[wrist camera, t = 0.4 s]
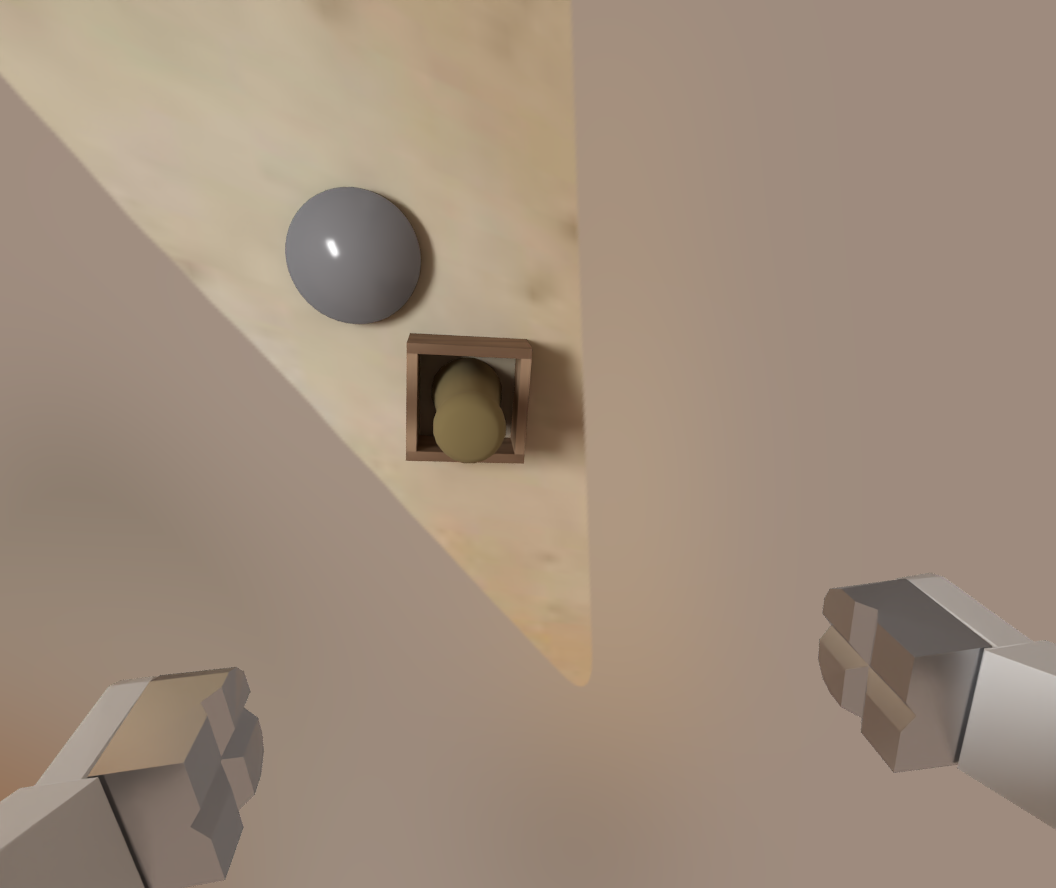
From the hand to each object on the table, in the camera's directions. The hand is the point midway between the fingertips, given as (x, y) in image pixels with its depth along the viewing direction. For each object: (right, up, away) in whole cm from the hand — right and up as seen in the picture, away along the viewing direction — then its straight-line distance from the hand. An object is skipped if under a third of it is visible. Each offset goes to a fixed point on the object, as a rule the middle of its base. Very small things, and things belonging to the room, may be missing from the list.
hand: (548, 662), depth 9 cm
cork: (-5, +8, +44) cm, 45 cm away
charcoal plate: (-14, +18, +39) cm, 45 cm away
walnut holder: (-5, +7, +44) cm, 45 cm away
